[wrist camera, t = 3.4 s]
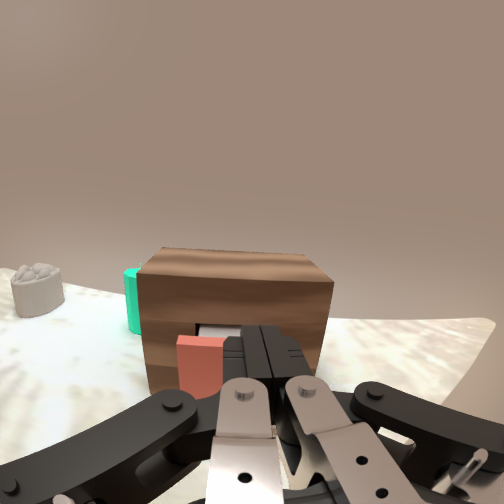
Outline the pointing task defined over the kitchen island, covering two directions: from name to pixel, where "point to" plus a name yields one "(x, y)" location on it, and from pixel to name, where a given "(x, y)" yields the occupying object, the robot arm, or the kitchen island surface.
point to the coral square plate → (203, 359)
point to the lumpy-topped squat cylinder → (37, 290)
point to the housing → (227, 301)
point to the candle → (132, 300)
